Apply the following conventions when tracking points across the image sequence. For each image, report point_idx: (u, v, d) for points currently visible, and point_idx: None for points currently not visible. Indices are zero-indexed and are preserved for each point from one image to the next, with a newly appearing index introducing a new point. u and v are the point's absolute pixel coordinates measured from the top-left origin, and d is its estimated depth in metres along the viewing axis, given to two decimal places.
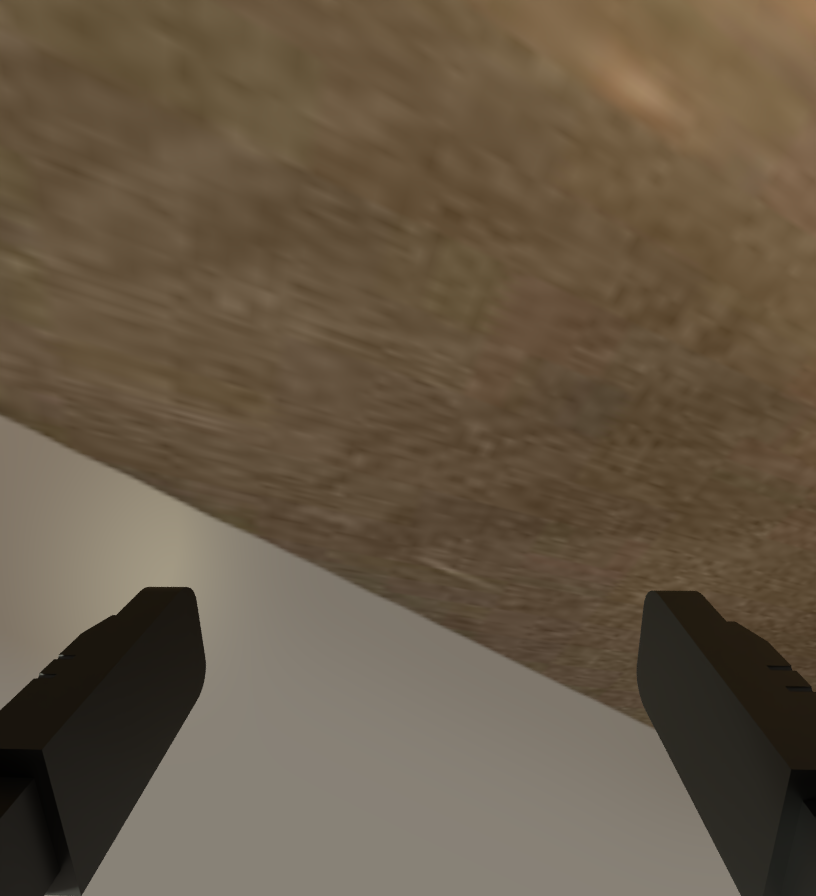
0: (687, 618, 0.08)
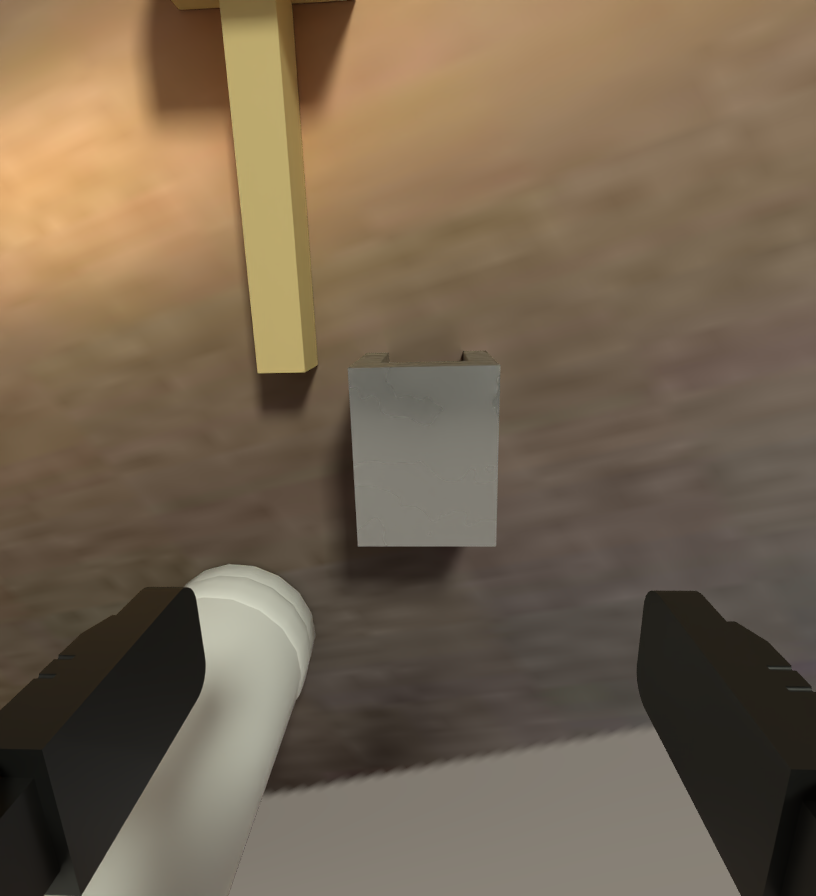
0: (687, 618, 0.08)
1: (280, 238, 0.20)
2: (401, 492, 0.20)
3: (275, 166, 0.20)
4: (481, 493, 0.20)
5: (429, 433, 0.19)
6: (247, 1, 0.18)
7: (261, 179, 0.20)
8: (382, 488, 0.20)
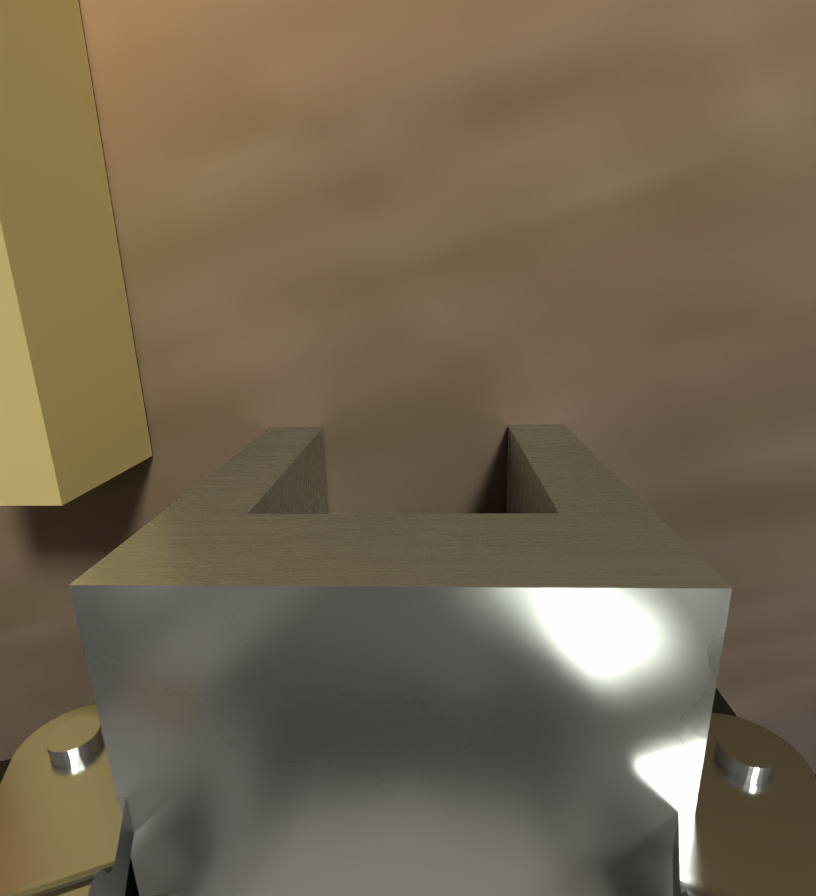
0: None
1: None
2: None
3: None
4: None
5: (417, 818, 0.05)
6: None
7: None
8: None
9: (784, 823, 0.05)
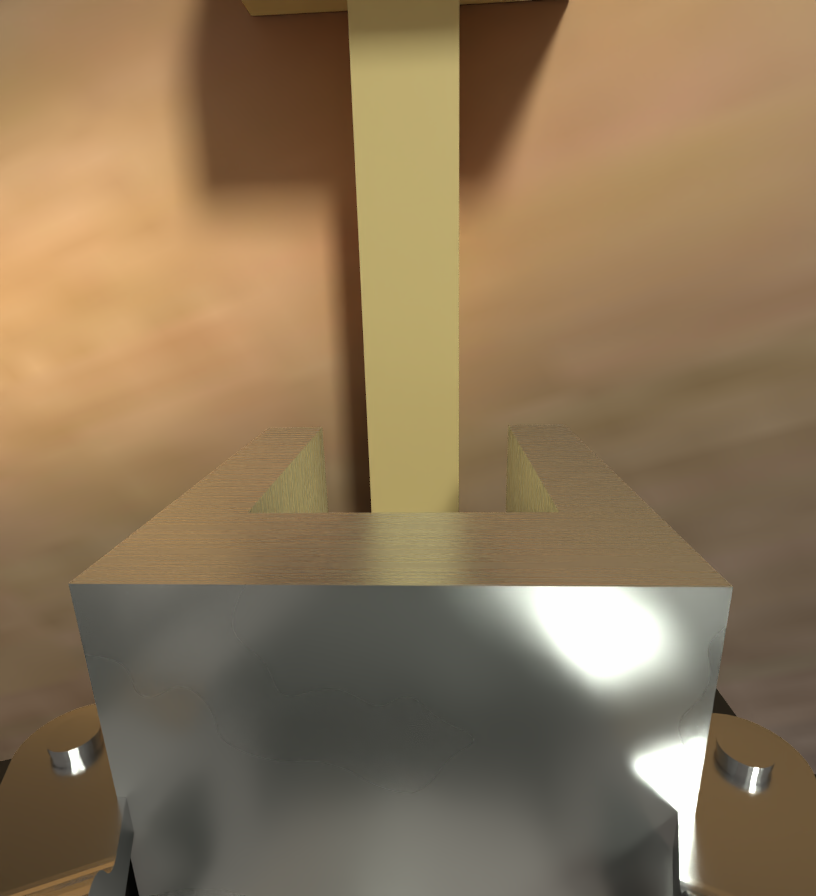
0: None
1: (433, 423, 0.11)
2: None
3: (434, 303, 0.11)
4: None
5: (417, 817, 0.05)
6: (403, 0, 0.09)
7: (406, 325, 0.11)
8: None
9: (783, 822, 0.05)
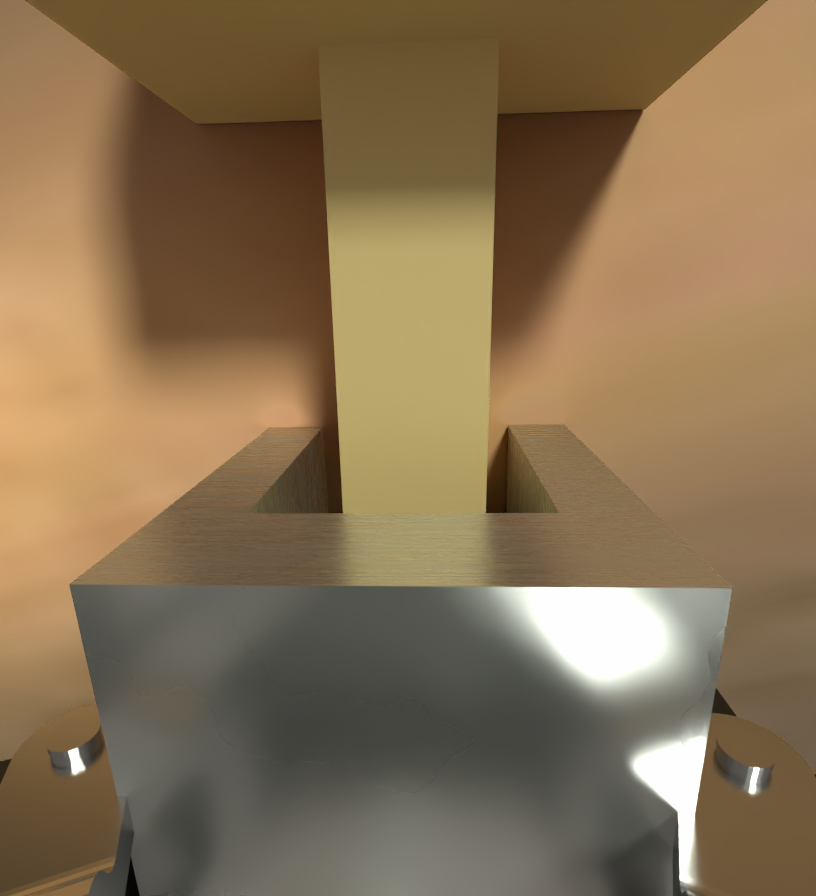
0: None
1: None
2: None
3: None
4: None
5: (417, 817, 0.05)
6: (409, 148, 0.06)
7: None
8: None
9: (784, 823, 0.05)
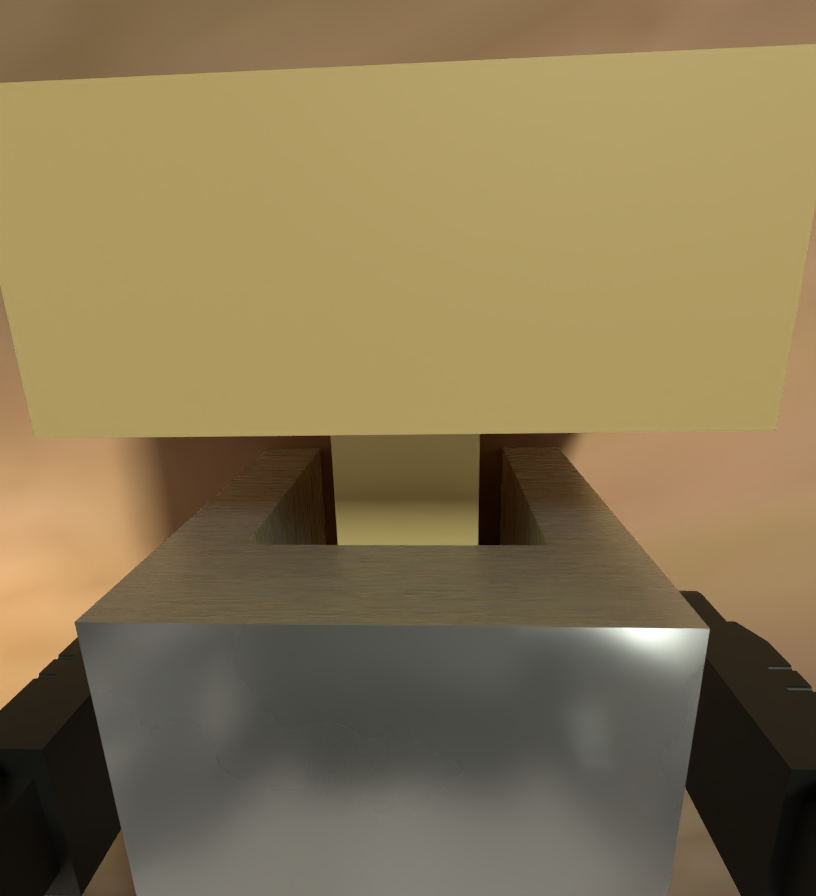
0: None
1: None
2: None
3: None
4: None
5: (409, 843, 0.05)
6: (406, 473, 0.07)
7: None
8: None
9: None
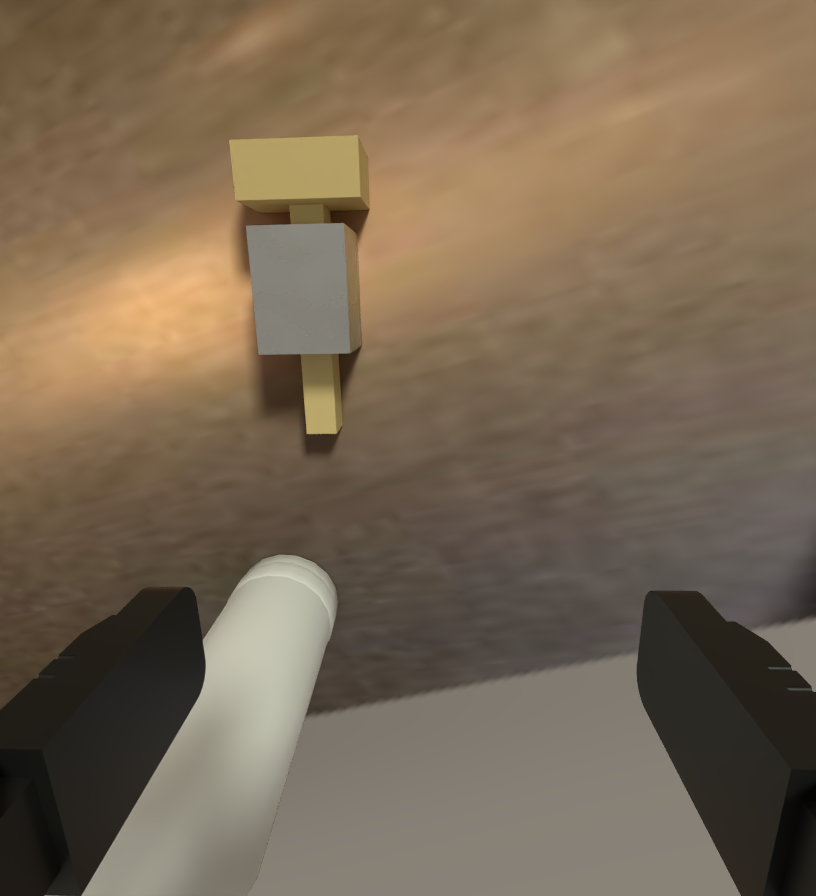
0: (687, 618, 0.08)
1: (323, 354, 0.33)
2: (285, 314, 0.30)
3: None
4: (337, 314, 0.30)
5: (301, 271, 0.29)
6: (307, 223, 0.31)
7: None
8: (272, 311, 0.30)
9: None
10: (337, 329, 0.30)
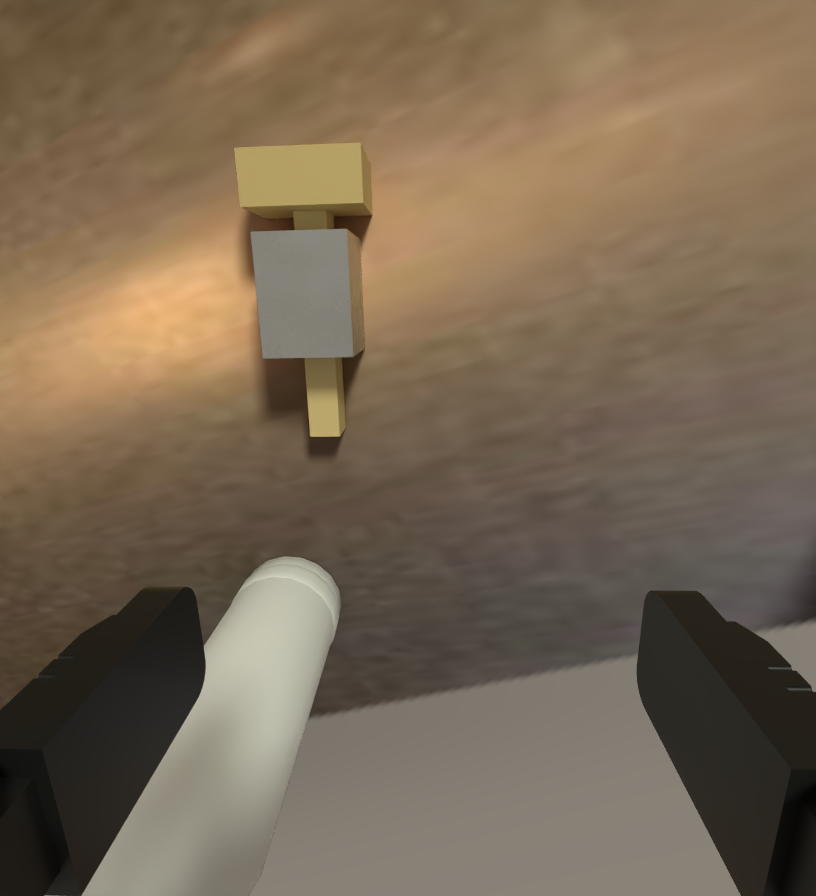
0: (687, 618, 0.08)
1: (326, 358, 0.34)
2: (289, 318, 0.30)
3: None
4: (341, 318, 0.30)
5: (304, 276, 0.30)
6: (310, 229, 0.32)
7: None
8: (276, 316, 0.30)
9: None
10: (340, 333, 0.30)
